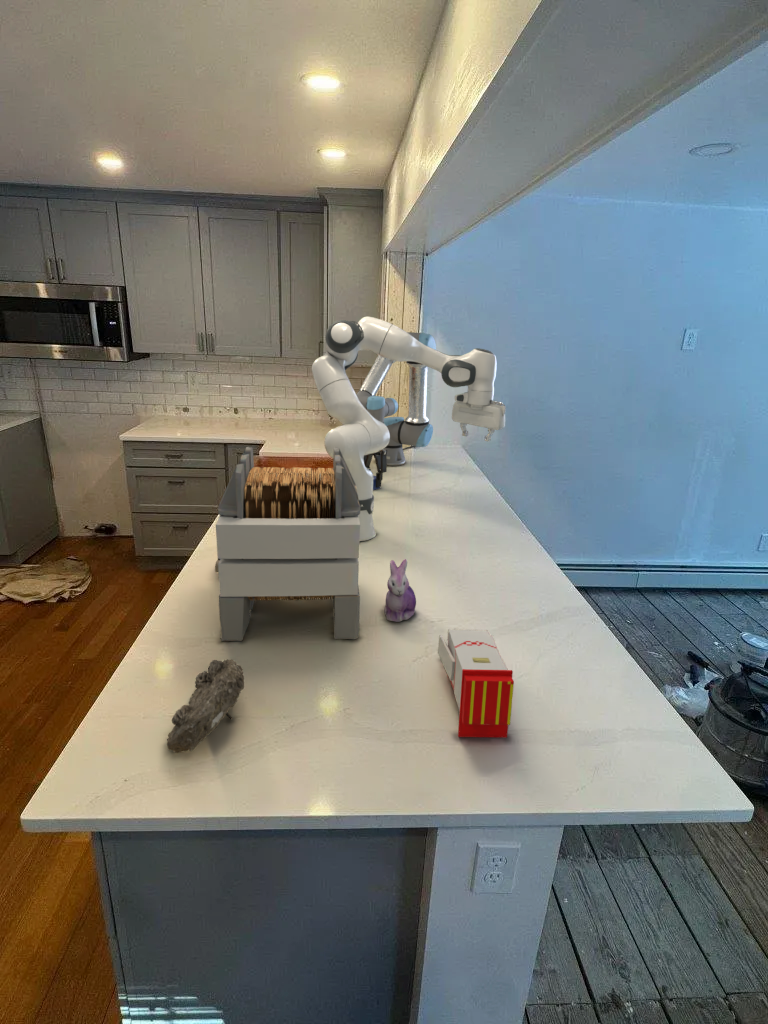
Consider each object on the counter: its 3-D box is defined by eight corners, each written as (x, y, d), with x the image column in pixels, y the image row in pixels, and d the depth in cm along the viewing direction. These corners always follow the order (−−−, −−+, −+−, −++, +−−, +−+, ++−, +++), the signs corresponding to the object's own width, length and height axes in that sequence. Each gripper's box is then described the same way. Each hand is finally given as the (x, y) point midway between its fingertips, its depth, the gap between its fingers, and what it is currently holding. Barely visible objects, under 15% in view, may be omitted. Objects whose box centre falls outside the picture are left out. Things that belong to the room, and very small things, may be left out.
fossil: (192, 660, 117) (244, 628, 112) (224, 691, 120) (276, 661, 115) (142, 746, 98) (202, 712, 93) (182, 779, 101) (242, 748, 96)
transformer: (238, 577, 163) (231, 438, 149) (351, 576, 167) (355, 440, 153) (218, 643, 131) (207, 474, 117) (359, 640, 135) (365, 475, 121)
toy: (488, 613, 130) (523, 677, 101) (484, 667, 133) (517, 744, 104) (435, 612, 130) (455, 676, 101) (432, 666, 133) (451, 743, 103)
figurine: (392, 627, 141) (395, 572, 136) (374, 608, 149) (376, 556, 144) (425, 619, 145) (429, 566, 140) (405, 601, 154) (408, 550, 149)
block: (372, 490, 246) (373, 479, 245) (365, 487, 249) (365, 477, 248) (380, 488, 249) (380, 477, 248) (372, 485, 252) (373, 475, 251)
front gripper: (511, 401, 188) (506, 442, 193) (461, 393, 201) (458, 432, 206) (500, 403, 184) (496, 445, 188) (450, 395, 197) (447, 434, 202)
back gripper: (397, 436, 237) (394, 488, 245) (365, 428, 250) (363, 478, 258) (384, 438, 232) (382, 492, 240) (352, 430, 245) (351, 481, 252)
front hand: (475, 438), depth 197 cm, fingers open, 8 cm apart
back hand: (372, 485), depth 249 cm, fingers open, 6 cm apart
